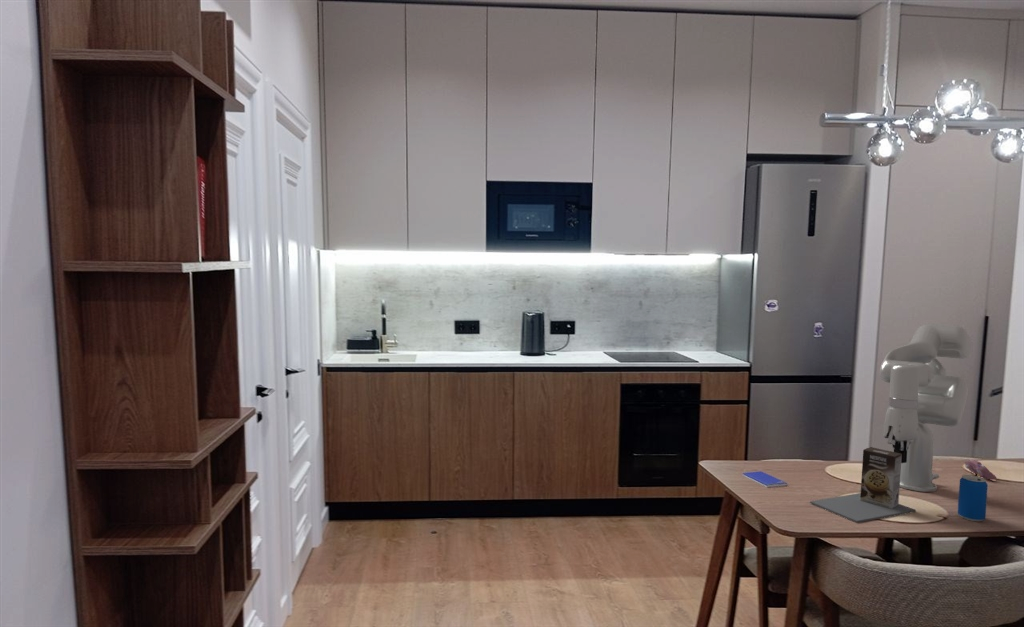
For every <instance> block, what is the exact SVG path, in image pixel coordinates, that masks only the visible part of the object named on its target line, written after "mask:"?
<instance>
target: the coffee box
mask: <svg viewBox="0 0 1024 627" xmlns="http://www.w3.org/2000/svg"><path fill="white" fill-rule="evenodd" d="M862 451H863V452H862V466H861V467H862V468H861V478H860V479H861V481H860V493H861V495H860V500H862V501H866V502H869V503H873V504H877V505H880V506H884V507H888V508H891V509H892V508H893V507H895V506H897V505H898V504H900V503H899V500H900V488H901V487H900V473H901V461H902V454H901V453H896V452H894V451H892V450H888V449H887V450H886V449H882V448H877V447H873V446H870V447H867V448H864V449H863V450H862Z"/></svg>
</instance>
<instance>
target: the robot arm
mask: <svg viewBox="0 0 1024 627" xmlns="http://www.w3.org/2000/svg"><path fill="white" fill-rule="evenodd" d="M912 336H913V337H912V338H911V340H910V342H909V343H908V344H905V345H901V346H899V347H896V348H893V349H891V350H890V351H889V352H887V354H886V355H885V356H884V359H883V360H882V362H881V363H880V364H881V365H880V368H879V377H880V378H881V380H882V381H884V382H885V383H888V384H890V385H889V397H888V398H889V399H888V407H887V409H886V412H885V417H884V423H883V434H882V436H883V438H885V439H887V444H889V445H891V446H892V449H893V452H896V453H901V454H902V461H901V473H900V488H902V489H906V490H910V491H915V492H923V493H928V492H929V493H930V492H935V491H937V488H938V487H937V485H936V484H935V483H933V480H937V479H939V478H940V476H939V474H938V473H937V472H933V460H934V459H933V458H934V444H935V443H934V441H935V436H934V434H933V432H932V430H931V429H930V427H929V426H928V425H927V424H929V425H935V426H943V427H956V426H958V425H959V424H960V423H961V421H962V417H963V415H964V410H965V407H966V403H967V400H968V395H969V386H968V383H967V382H966V380H965V379H964V378H961V377H958V376H954V375H947V370H946V368H945V366H944V365H943V364H942V363H941V361H939V359H937V357H939V358H947V359H948V358H950V359H959V360H960V359H961V360H962V359H968V358H970V356H971V355H972V353H973V351H974V342H973V339H972V337H971V335H970V334H969V333H968V331H967V330H966V329H965V328H964V327H962V326H960V325H956V324H955V325H952V324H935V323H928V324H923V325H920V326H919V327H918V328H917V329H916V330H915V332H914V334H913V335H912Z"/></svg>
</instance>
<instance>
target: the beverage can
mask: <svg viewBox="0 0 1024 627" xmlns="http://www.w3.org/2000/svg"><path fill="white" fill-rule="evenodd" d="M986 481H987V479H986V478H985V477H984V478H981V477H978V476H974V475H971V474H963V475H961V478H960V479H959V484H958V485H959V490H958V503H957V514H958V515H959V516H960V518H962V519H964V520H967V521H971V522H982V521H984V520H986V515H987V499H988V483H987V482H986Z"/></svg>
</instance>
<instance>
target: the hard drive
mask: <svg viewBox="0 0 1024 627" xmlns="http://www.w3.org/2000/svg"><path fill="white" fill-rule="evenodd" d="M742 476H743V477H745V478H747V479H749V480H751V481H754V482H756V483H757V484H759V485H761V486H763V487H765V488H773V487H784V486H785V487H786V486H788V482H786V481H784V480H781V479H779V478H776V477H775V476H772V475H770V474H768V473H766V472H764V471H749V472H743V473H742Z"/></svg>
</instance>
